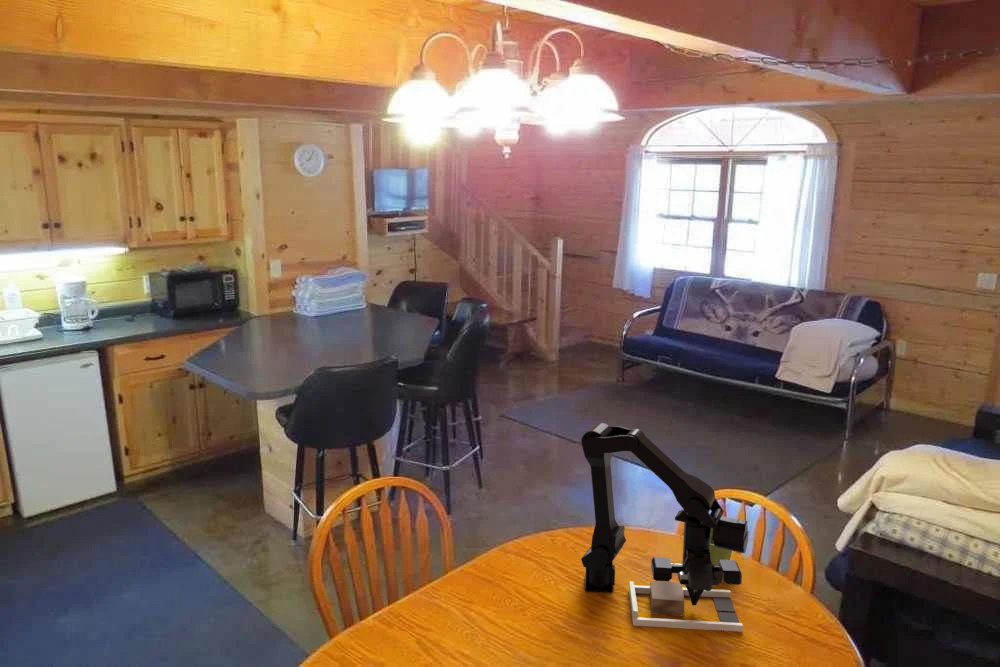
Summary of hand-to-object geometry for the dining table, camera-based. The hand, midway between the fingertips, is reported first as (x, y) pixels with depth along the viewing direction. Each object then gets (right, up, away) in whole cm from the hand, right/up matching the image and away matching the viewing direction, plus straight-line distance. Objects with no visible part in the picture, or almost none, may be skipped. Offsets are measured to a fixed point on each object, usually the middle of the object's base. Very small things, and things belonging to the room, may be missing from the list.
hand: (693, 604), depth 155 cm
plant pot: (+10, +2, +17) cm, 20 cm away
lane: (-2, -2, +1) cm, 3 cm away
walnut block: (-5, -1, +3) cm, 6 cm away
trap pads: (+7, -2, 0) cm, 7 cm away
